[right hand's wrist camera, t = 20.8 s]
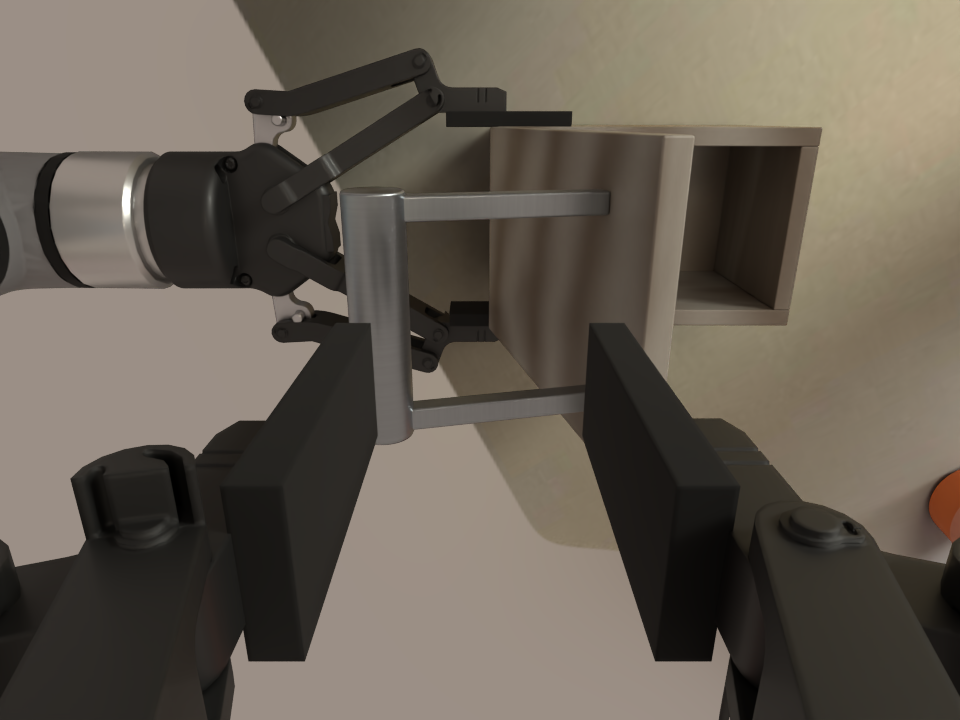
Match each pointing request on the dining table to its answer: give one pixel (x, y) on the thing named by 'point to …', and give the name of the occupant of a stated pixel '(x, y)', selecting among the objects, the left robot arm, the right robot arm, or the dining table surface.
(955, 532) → the cup with straw
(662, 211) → the lid
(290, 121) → the left robot arm
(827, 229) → the dining table surface
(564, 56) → the dining table surface
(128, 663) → the right robot arm
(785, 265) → the chest
